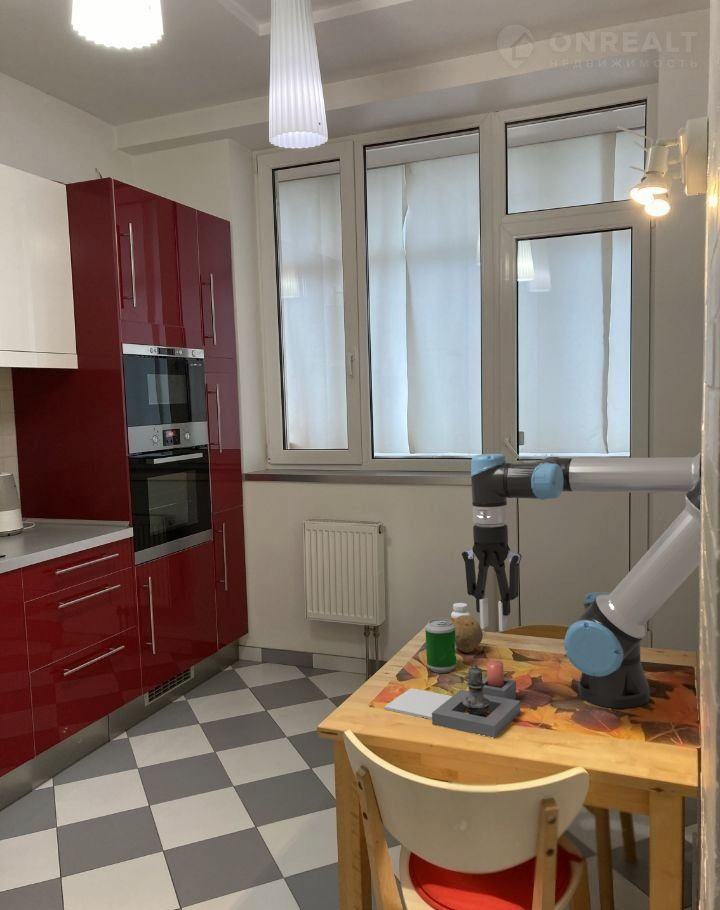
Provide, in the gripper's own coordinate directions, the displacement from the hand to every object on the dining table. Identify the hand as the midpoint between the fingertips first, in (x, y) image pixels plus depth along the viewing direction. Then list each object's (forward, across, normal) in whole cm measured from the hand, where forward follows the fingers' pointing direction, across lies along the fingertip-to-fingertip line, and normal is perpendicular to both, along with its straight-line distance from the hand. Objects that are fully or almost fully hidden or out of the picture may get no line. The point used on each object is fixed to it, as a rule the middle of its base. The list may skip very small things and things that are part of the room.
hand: (493, 627), depth 166 cm
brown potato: (+17, -20, +26) cm, 37 cm away
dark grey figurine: (+17, 0, -10) cm, 20 cm away
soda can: (+17, -20, +12) cm, 29 cm away
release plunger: (+14, 0, 0) cm, 14 cm away
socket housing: (+17, 0, -7) cm, 18 cm away
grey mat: (+17, -14, -10) cm, 24 cm away
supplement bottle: (+17, -26, +36) cm, 48 cm away
